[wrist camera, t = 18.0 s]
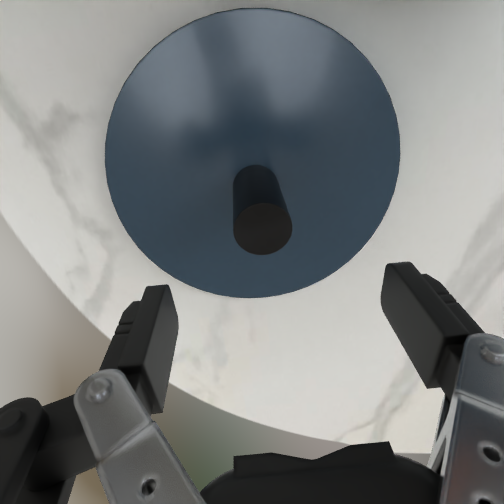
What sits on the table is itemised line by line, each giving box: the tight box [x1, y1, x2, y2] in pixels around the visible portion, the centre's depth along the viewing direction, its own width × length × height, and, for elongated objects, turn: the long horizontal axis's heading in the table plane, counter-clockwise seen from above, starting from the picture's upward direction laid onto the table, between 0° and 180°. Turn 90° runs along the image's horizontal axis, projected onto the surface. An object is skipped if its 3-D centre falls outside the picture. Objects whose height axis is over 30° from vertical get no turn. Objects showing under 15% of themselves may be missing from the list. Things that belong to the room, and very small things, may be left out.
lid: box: [105, 8, 400, 298], centre depth 19 cm, size 19×19×7 cm
